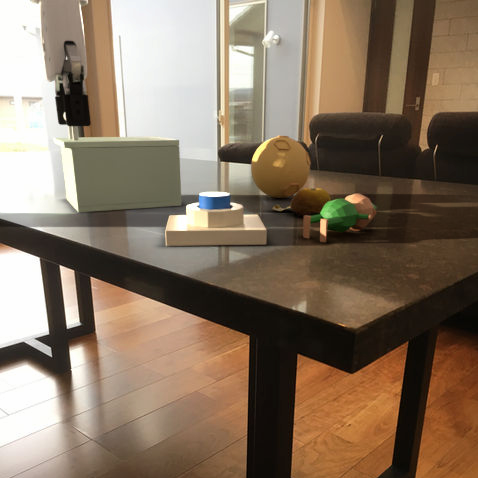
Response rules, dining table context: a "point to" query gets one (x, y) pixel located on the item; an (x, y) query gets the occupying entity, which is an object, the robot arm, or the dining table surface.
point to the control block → (215, 227)
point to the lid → (110, 141)
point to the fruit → (307, 202)
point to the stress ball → (280, 167)
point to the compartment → (122, 177)
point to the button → (214, 200)
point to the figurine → (342, 215)
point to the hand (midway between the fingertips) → (73, 125)
